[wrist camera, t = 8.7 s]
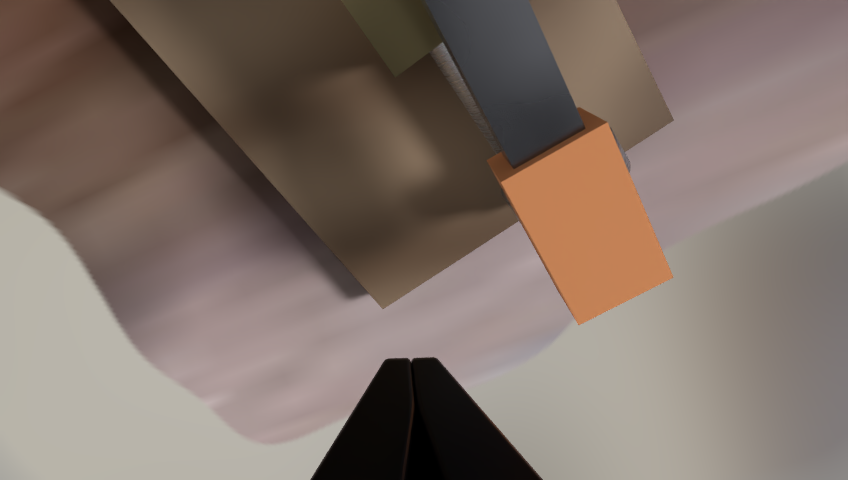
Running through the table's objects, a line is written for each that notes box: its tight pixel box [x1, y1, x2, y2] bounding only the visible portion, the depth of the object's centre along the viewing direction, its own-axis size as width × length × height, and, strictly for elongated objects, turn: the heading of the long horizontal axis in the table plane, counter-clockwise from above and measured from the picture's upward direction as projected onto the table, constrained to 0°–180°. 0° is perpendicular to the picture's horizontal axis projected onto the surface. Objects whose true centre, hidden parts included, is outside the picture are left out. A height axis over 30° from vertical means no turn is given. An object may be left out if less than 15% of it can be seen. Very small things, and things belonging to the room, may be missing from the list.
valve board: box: [110, 0, 673, 309], centre depth 15 cm, size 16×13×7 cm
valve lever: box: [421, 0, 673, 325], centre depth 12 cm, size 11×3×2 cm, turn 30°
